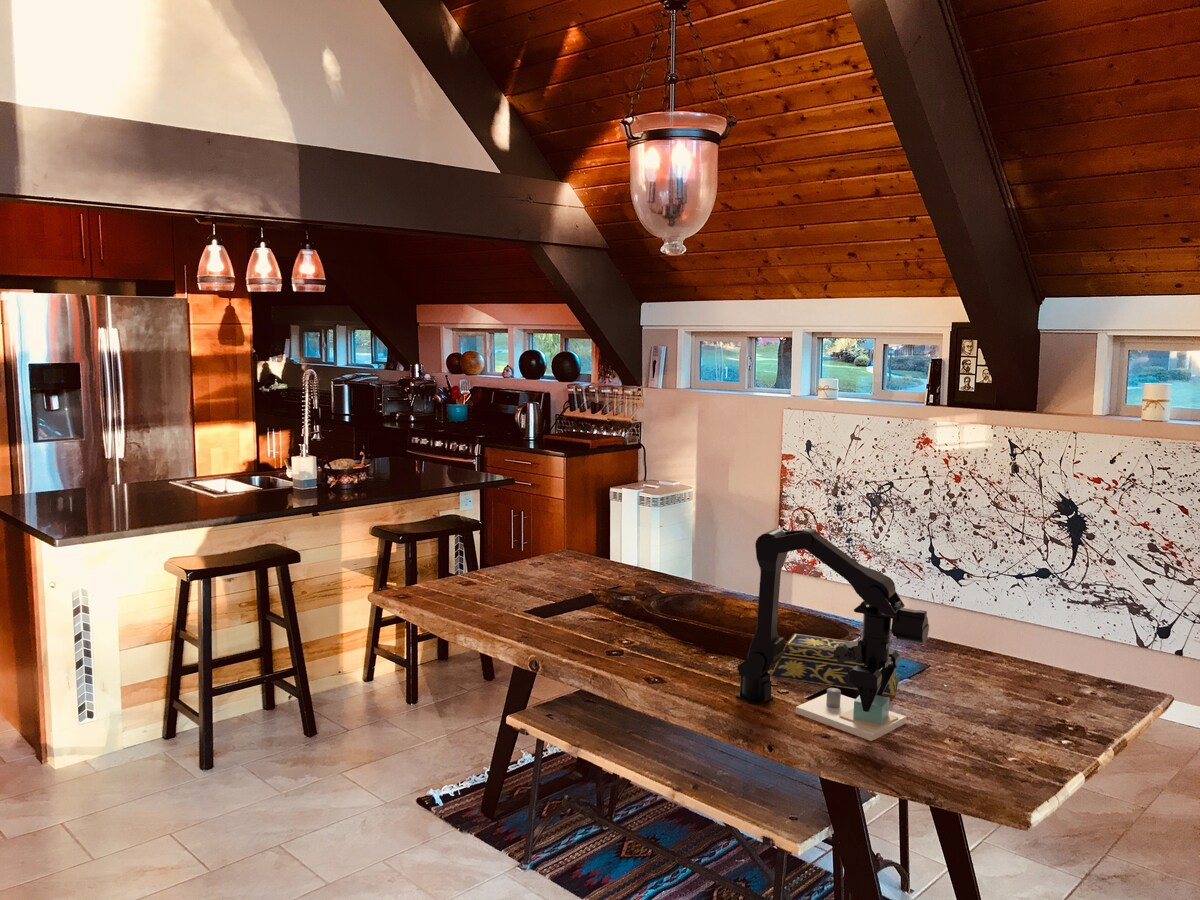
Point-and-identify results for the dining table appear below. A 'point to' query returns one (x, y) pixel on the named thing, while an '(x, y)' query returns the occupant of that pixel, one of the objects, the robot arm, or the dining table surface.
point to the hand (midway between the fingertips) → (872, 704)
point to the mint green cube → (872, 710)
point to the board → (846, 715)
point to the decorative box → (819, 663)
